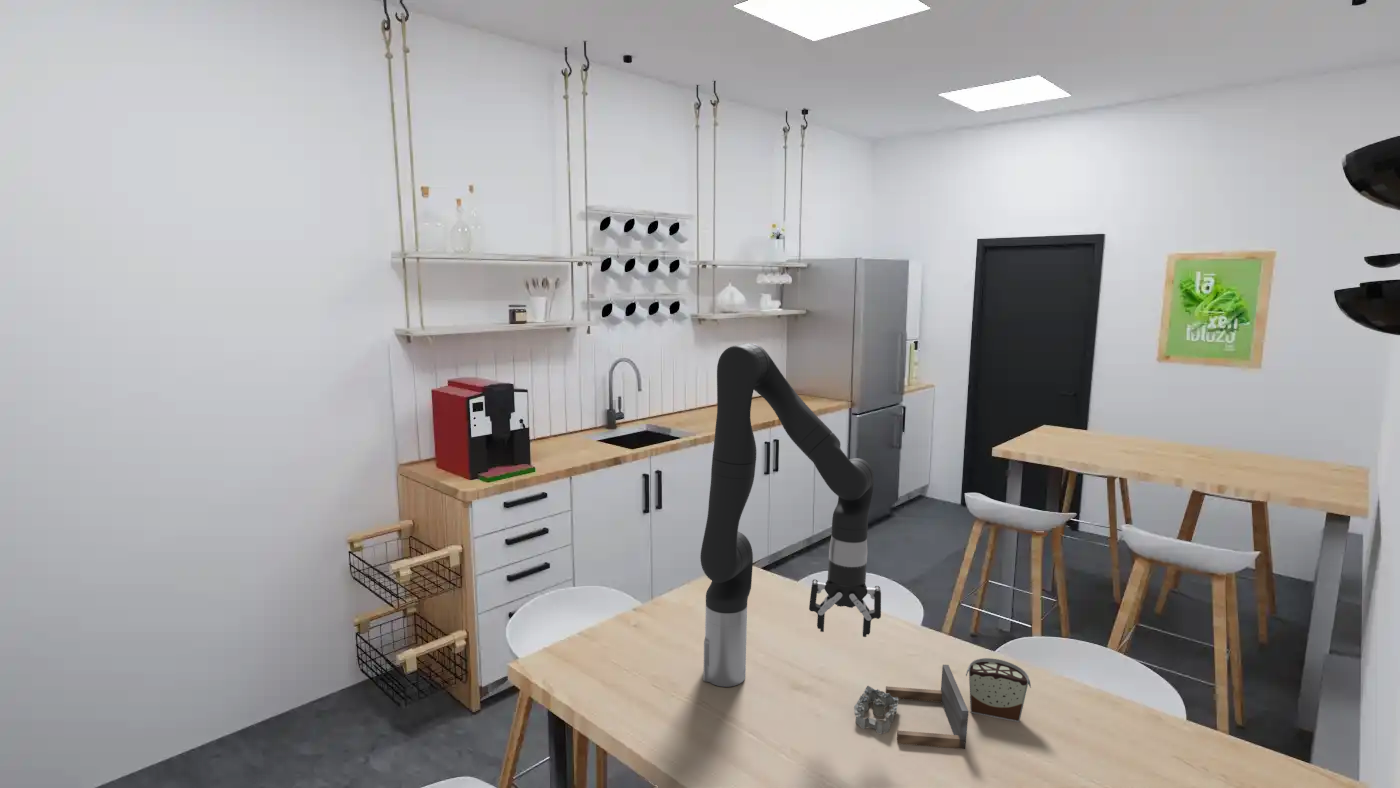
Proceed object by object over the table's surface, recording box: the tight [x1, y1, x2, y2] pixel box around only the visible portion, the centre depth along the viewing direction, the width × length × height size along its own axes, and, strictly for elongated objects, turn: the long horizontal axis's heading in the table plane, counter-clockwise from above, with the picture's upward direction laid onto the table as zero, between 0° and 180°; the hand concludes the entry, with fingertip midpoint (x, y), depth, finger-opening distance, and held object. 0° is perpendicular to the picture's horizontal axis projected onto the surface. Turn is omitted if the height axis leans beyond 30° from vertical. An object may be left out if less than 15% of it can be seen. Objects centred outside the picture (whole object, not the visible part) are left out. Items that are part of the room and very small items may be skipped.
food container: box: [965, 657, 1032, 723], centre depth 148 cm, size 12×6×10 cm, turn 71°
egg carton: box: [853, 685, 899, 735], centre depth 146 cm, size 11×8×4 cm
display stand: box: [885, 664, 970, 750], centre depth 144 cm, size 13×16×8 cm
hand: (843, 632), depth 146 cm, fingers open, 8 cm apart
